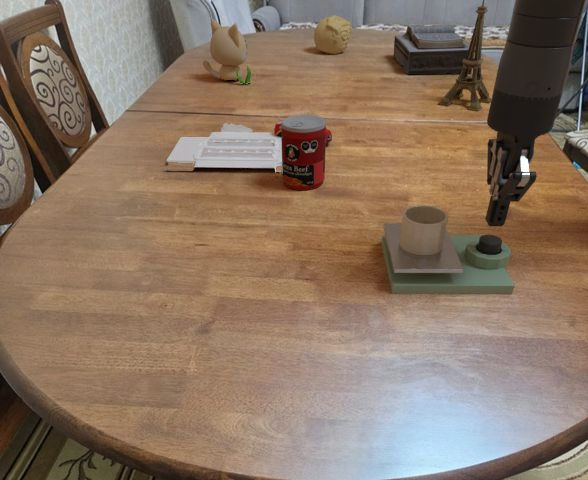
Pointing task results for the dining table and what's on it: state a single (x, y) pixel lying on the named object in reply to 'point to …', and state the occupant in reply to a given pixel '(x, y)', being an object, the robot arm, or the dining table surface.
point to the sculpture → (332, 34)
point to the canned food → (303, 151)
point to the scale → (474, 280)
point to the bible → (431, 50)
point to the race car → (278, 132)
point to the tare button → (489, 244)
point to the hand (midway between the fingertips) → (494, 223)
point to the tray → (230, 149)
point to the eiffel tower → (475, 63)
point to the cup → (423, 229)
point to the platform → (420, 263)
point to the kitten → (227, 52)
